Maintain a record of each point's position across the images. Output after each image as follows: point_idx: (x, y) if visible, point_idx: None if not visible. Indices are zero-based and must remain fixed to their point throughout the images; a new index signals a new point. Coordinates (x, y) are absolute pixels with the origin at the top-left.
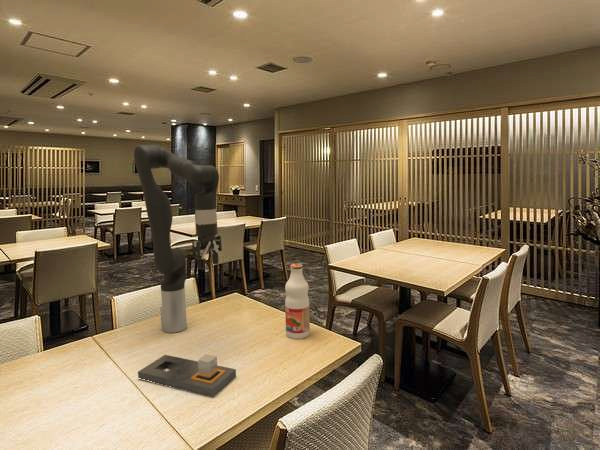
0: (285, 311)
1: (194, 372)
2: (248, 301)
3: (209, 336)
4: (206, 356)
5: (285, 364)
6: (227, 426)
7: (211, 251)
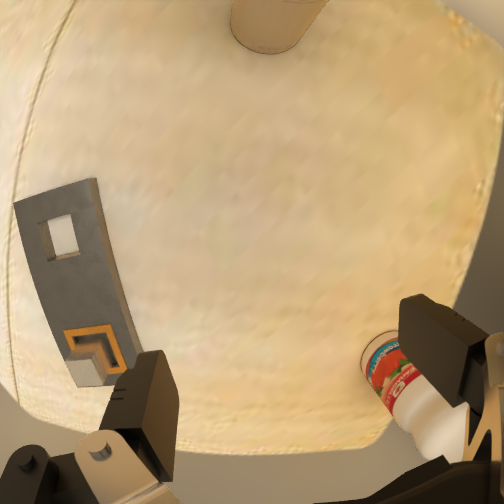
0: (402, 372)
1: (82, 319)
2: (498, 108)
3: (278, 157)
4: (85, 367)
5: (247, 414)
6: (65, 425)
7: (487, 368)
